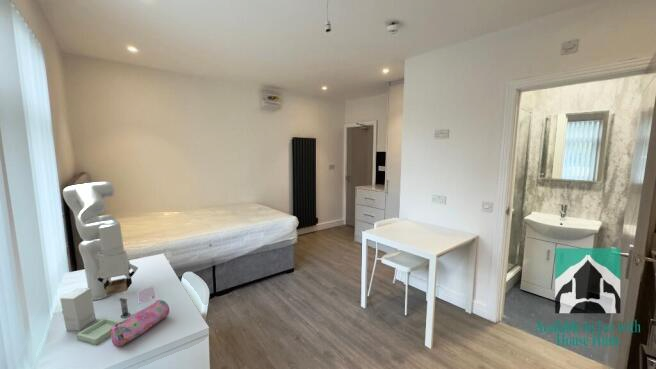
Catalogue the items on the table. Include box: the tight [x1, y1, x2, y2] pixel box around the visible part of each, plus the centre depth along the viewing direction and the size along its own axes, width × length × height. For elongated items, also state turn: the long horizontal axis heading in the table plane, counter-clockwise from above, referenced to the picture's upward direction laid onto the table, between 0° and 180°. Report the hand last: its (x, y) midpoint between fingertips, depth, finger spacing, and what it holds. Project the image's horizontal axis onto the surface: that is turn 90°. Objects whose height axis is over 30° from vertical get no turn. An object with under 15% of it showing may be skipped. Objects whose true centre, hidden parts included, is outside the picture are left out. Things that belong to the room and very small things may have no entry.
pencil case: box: [110, 299, 170, 347], centre depth 113 cm, size 21×9×9 cm, turn 157°
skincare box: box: [59, 287, 96, 332], centre depth 117 cm, size 8×7×16 cm
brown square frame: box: [106, 277, 130, 296], centre depth 120 cm, size 7×7×4 cm
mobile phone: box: [137, 286, 157, 304], centre depth 141 cm, size 8×1×15 cm
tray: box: [76, 317, 123, 346], centre depth 112 cm, size 11×11×2 cm
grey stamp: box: [119, 297, 131, 319], centre depth 123 cm, size 4×4×8 cm
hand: (118, 287), depth 120 cm, fingers closed on brown square frame, 7 cm apart
